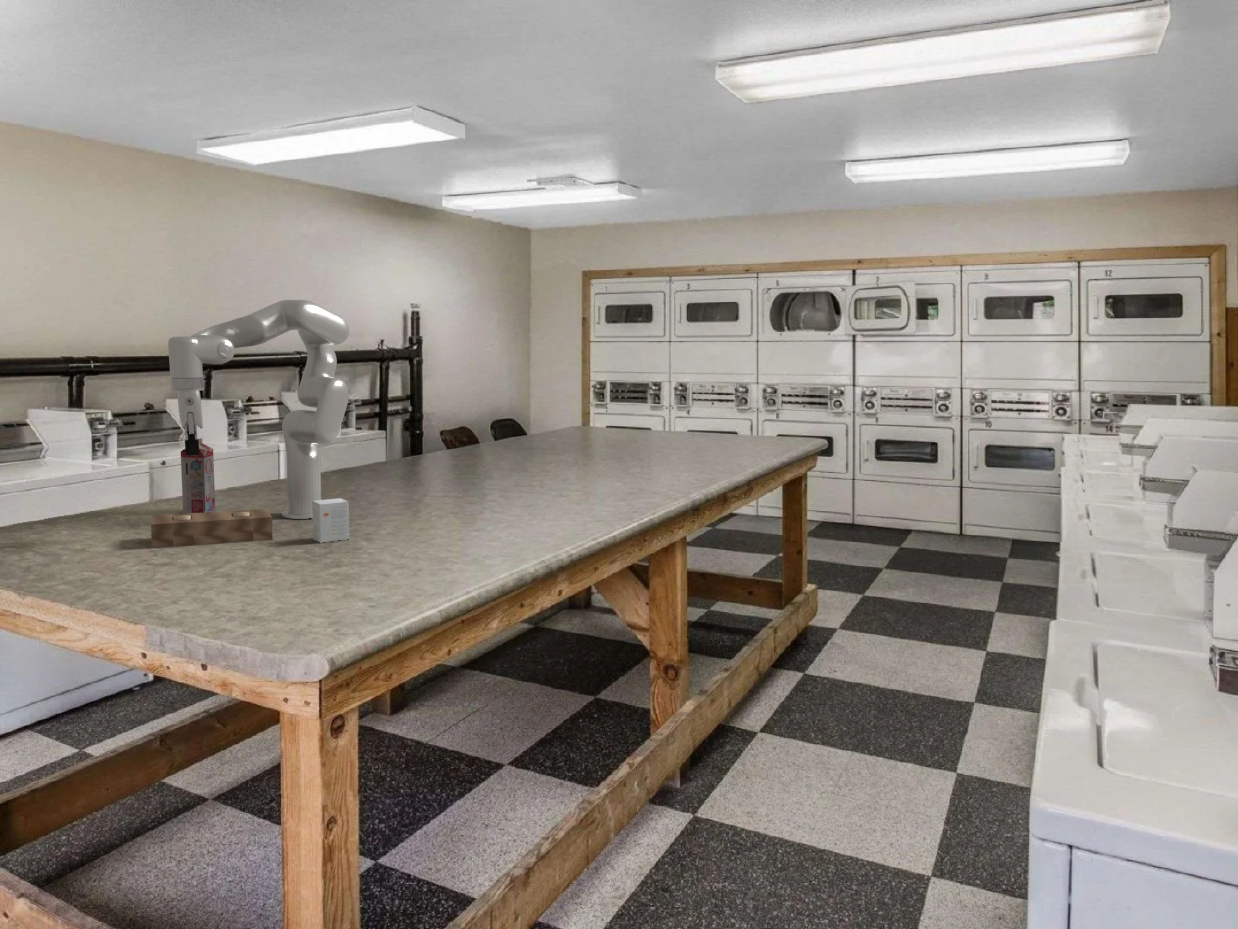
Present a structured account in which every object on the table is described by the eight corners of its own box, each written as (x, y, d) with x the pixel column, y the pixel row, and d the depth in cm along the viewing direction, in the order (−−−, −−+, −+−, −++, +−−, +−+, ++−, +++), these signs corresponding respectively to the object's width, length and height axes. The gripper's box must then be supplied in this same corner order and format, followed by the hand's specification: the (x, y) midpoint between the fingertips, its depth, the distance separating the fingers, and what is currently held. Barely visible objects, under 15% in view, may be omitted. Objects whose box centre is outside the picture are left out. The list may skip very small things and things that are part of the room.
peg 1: (191, 536, 227) (190, 514, 226) (191, 539, 223) (190, 517, 223) (174, 537, 225) (173, 515, 224) (174, 540, 221) (173, 518, 221)
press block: (267, 530, 239) (267, 509, 238) (272, 539, 229) (272, 517, 228) (152, 538, 226) (151, 515, 225) (151, 548, 216) (150, 524, 215)
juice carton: (215, 509, 265) (212, 438, 262) (205, 514, 258) (202, 440, 255) (193, 509, 265) (190, 437, 262) (183, 513, 258) (180, 440, 255)
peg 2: (249, 532, 233) (248, 511, 232) (250, 535, 230) (250, 514, 229) (233, 533, 231) (232, 512, 231) (234, 536, 228) (233, 515, 227)
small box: (341, 536, 235) (341, 497, 234) (349, 540, 231) (349, 501, 230) (312, 539, 230) (311, 500, 229) (319, 543, 226) (319, 503, 225)
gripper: (205, 386, 220) (210, 458, 223) (201, 382, 233) (206, 450, 236) (171, 387, 216) (177, 460, 219) (170, 383, 229) (175, 451, 232)
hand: (192, 454), depth 227 cm, fingers closed
